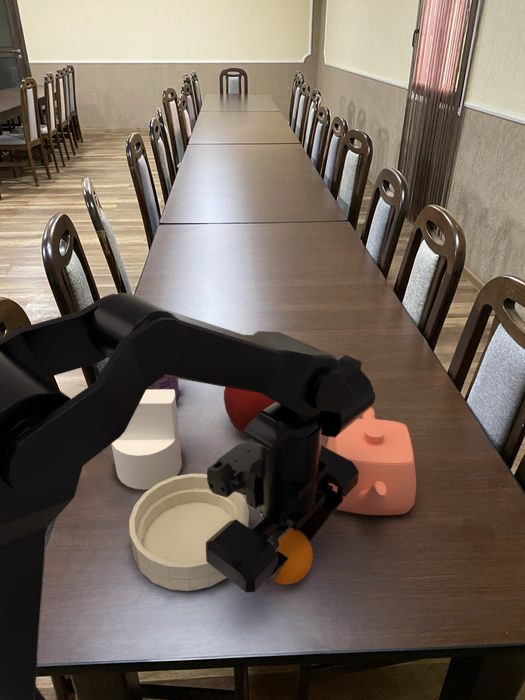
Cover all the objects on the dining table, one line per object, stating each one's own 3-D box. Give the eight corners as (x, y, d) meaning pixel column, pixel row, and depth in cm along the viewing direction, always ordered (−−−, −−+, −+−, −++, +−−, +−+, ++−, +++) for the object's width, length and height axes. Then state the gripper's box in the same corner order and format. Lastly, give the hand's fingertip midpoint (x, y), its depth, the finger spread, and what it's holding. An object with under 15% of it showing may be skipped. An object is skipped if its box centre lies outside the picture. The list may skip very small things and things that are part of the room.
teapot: (401, 451, 78) (412, 393, 72) (421, 556, 63) (437, 492, 57) (322, 446, 79) (327, 388, 73) (322, 548, 63) (328, 484, 58)
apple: (225, 450, 78) (223, 394, 73) (224, 410, 86) (222, 357, 81) (290, 447, 79) (293, 391, 73) (283, 407, 87) (284, 354, 81)
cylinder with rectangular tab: (109, 489, 71) (95, 418, 65) (123, 444, 79) (112, 376, 73) (177, 489, 71) (170, 418, 65) (185, 443, 79) (179, 376, 73)
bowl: (189, 618, 56) (187, 591, 54) (110, 547, 63) (104, 521, 61) (272, 536, 65) (272, 510, 62) (194, 483, 72) (192, 458, 70)
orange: (289, 606, 57) (291, 570, 54) (247, 574, 60) (246, 539, 57) (321, 569, 61) (325, 533, 58) (280, 541, 64) (281, 506, 61)
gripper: (284, 383, 62) (280, 481, 70) (160, 471, 50) (173, 577, 58) (367, 423, 56) (353, 525, 64) (250, 534, 44) (251, 643, 52)
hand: (285, 562), depth 60 cm, fingers closed on orange, 6 cm apart
